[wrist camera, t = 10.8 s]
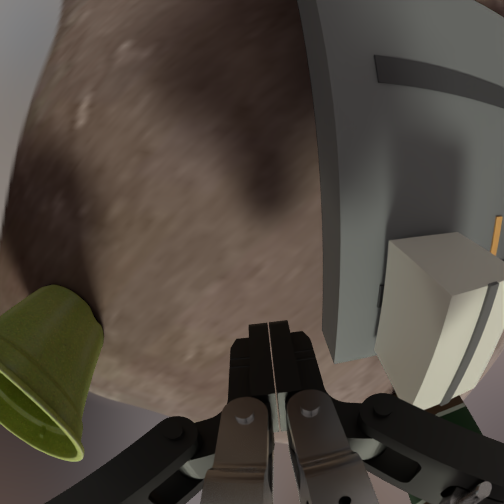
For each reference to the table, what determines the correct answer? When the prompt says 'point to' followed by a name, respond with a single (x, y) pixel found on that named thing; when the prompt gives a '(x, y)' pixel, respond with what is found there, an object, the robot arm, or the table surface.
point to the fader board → (401, 141)
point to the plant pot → (48, 369)
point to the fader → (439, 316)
